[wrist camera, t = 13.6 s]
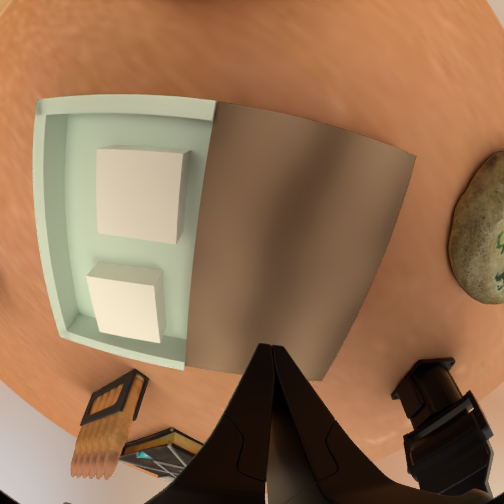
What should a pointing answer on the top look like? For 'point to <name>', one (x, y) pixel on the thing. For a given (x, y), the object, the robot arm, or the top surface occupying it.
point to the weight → (481, 234)
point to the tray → (85, 211)
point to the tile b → (142, 191)
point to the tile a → (128, 300)
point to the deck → (287, 237)
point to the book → (162, 453)
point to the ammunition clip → (107, 426)
